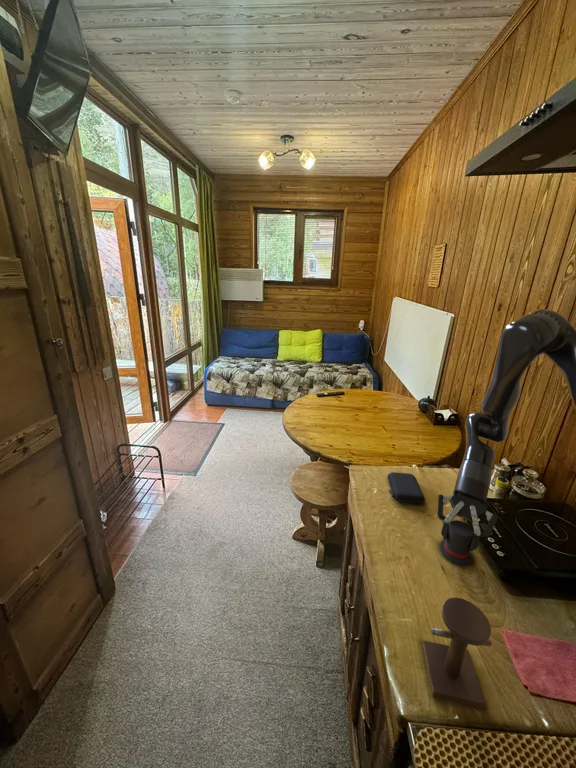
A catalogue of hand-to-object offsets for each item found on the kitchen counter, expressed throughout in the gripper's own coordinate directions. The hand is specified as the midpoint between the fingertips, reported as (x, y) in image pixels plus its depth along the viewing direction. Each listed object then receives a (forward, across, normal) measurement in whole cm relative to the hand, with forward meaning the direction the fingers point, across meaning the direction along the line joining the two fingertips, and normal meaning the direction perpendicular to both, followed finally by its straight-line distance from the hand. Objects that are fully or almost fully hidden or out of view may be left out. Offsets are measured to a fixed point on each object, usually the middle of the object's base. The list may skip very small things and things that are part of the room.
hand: (457, 544), depth 77 cm
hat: (+2, 0, +4) cm, 5 cm away
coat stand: (+23, +4, -17) cm, 29 cm away
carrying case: (-11, -19, +17) cm, 27 cm away
